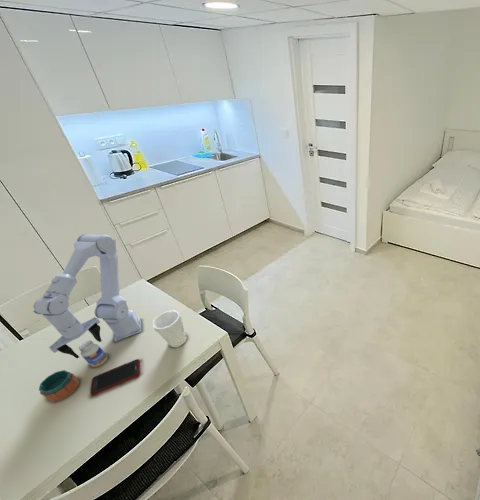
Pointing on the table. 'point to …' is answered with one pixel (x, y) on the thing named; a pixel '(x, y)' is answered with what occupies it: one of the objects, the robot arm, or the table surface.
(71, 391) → the orange and teal bowl
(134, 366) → the cell phone
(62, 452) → the table surface
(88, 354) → the pill bottle
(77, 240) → the robot arm
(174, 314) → the foam cup
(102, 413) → the table surface
